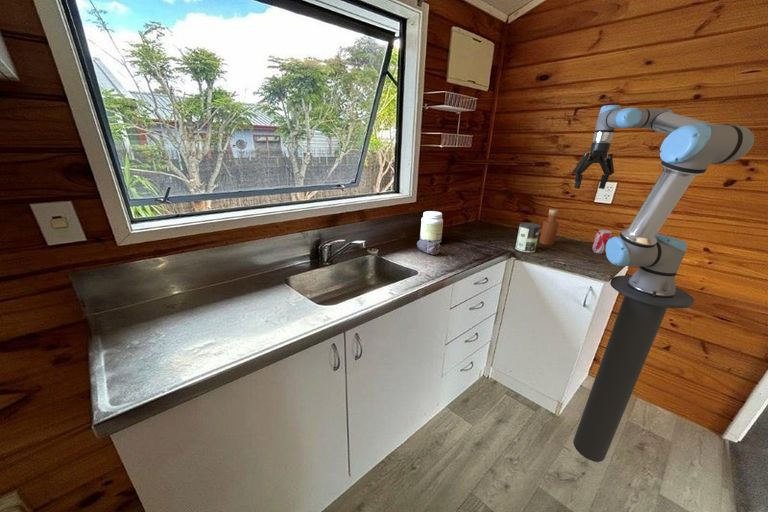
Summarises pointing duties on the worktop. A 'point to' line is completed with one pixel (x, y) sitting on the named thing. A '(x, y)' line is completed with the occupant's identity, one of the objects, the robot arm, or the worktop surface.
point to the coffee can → (527, 237)
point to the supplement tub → (431, 226)
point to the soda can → (601, 241)
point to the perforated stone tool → (428, 246)
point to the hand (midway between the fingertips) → (589, 188)
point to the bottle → (549, 230)
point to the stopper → (553, 212)
